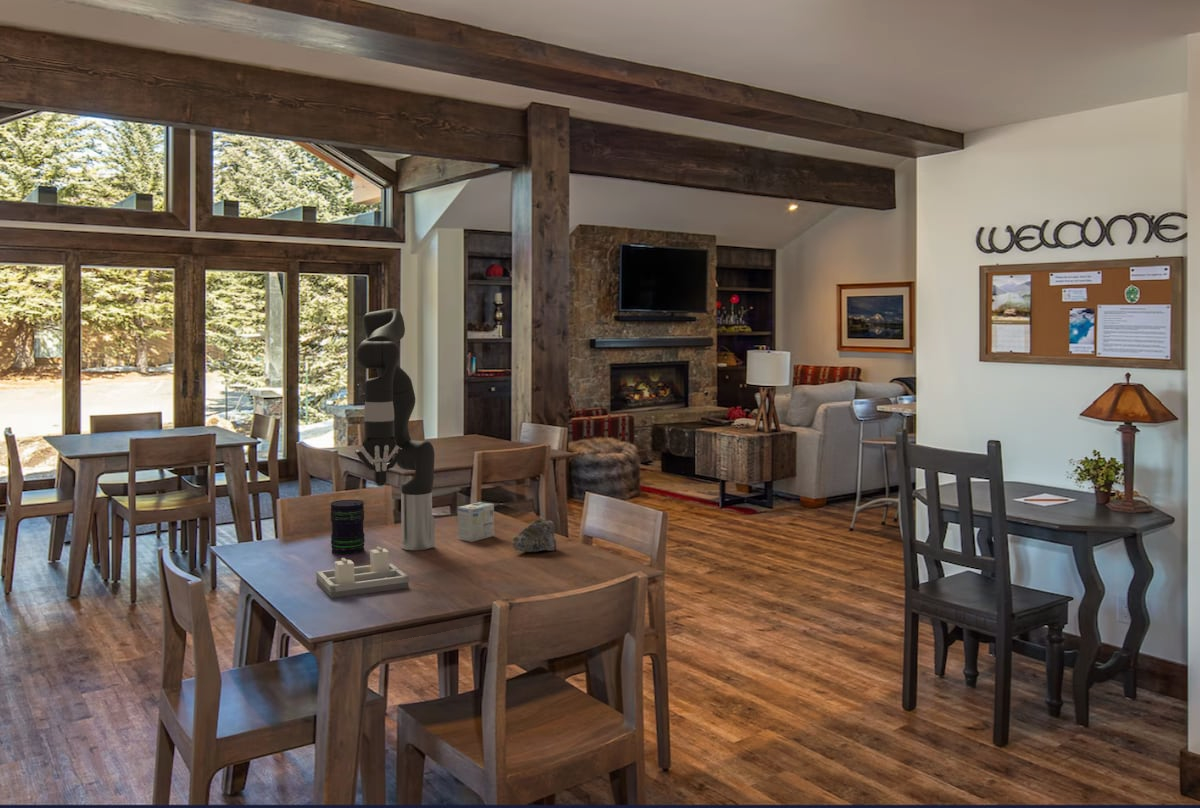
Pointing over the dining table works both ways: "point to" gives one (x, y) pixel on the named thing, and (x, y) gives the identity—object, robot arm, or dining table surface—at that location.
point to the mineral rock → (536, 537)
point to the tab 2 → (379, 559)
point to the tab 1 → (344, 571)
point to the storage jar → (347, 527)
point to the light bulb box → (475, 521)
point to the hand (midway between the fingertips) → (380, 485)
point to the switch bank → (363, 581)
